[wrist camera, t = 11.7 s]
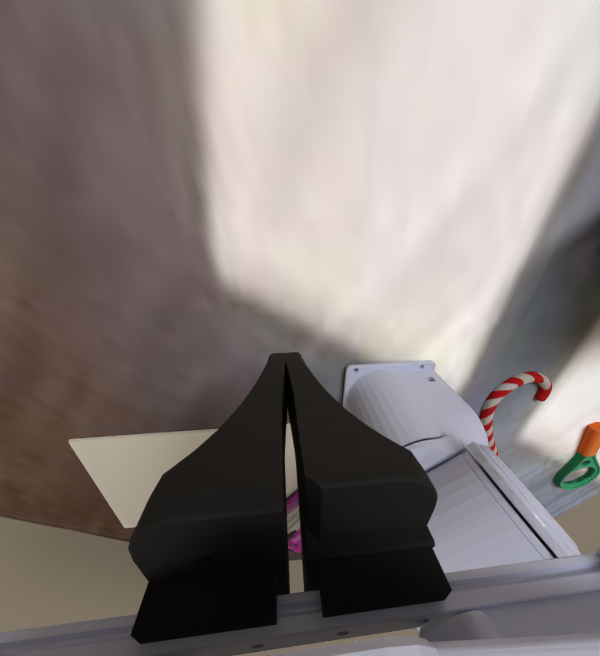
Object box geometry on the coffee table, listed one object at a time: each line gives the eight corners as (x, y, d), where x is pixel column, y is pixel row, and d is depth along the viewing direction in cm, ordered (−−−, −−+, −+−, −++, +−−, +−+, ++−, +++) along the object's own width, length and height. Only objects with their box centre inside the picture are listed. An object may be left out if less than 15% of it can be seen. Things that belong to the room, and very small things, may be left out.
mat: (306, 422, 27) (306, 424, 27) (306, 507, 35) (306, 510, 35) (70, 439, 25) (68, 441, 25) (125, 525, 33) (124, 528, 33)
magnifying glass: (585, 476, 39) (597, 487, 37) (548, 485, 39) (559, 497, 37) (612, 414, 32) (629, 424, 30) (567, 426, 32) (582, 436, 31)
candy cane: (473, 466, 32) (495, 384, 26) (466, 457, 34) (485, 376, 27) (527, 456, 32) (563, 370, 26) (519, 447, 34) (551, 364, 27)
